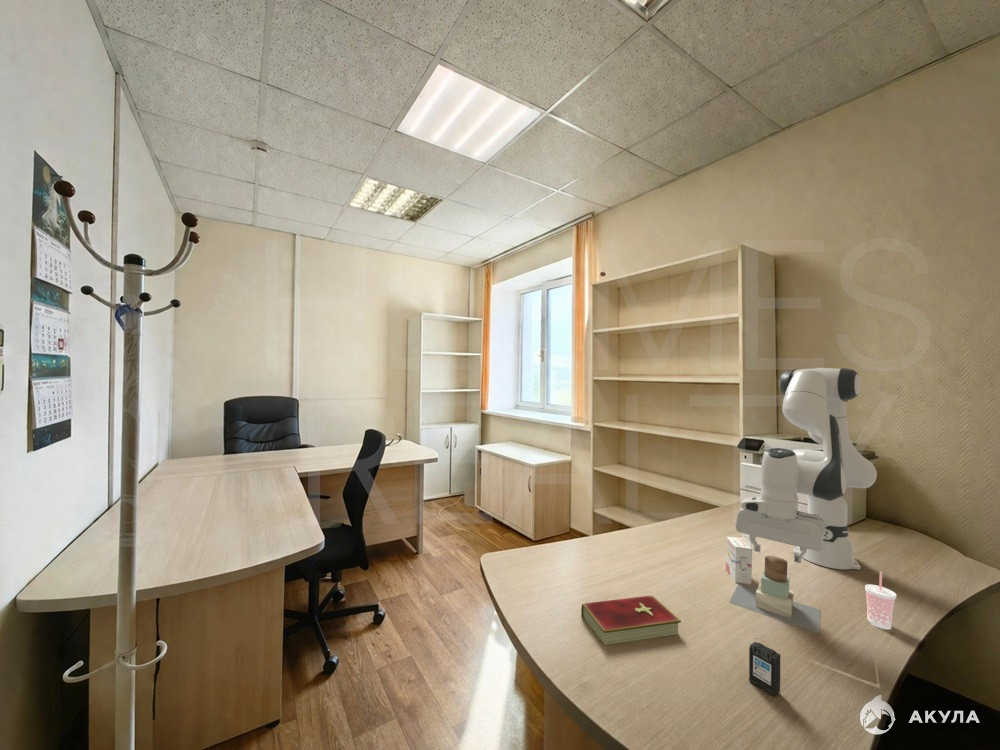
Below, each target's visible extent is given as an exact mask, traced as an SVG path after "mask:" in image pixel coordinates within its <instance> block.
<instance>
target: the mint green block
mask: <svg viewBox="0 0 1000 750" xmlns="http://www.w3.org/2000/svg"><path fill="white" fill-rule="evenodd" d="M764 573H765V569H764V570H763V572H762V575H761V577H760V581H761V592H762V593H765V594H769V595H772V596H775V597H778V598H781V599H784V600H787V598H788V594H789V590H790V582H791V581H790V580H791V577H788V576H787V582H776V581H773V580H770V579H768V578H767V577H765V575H764Z"/></svg>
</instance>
